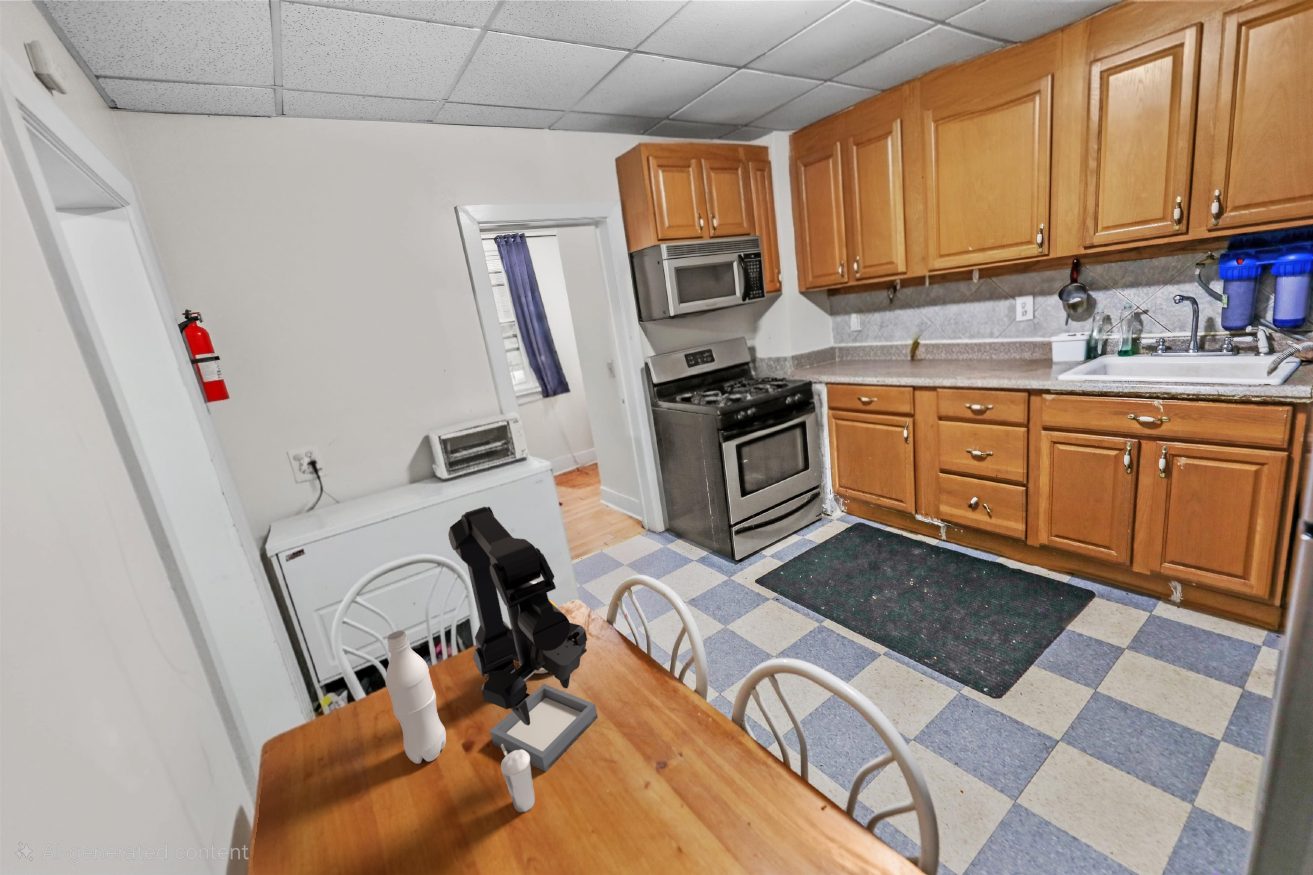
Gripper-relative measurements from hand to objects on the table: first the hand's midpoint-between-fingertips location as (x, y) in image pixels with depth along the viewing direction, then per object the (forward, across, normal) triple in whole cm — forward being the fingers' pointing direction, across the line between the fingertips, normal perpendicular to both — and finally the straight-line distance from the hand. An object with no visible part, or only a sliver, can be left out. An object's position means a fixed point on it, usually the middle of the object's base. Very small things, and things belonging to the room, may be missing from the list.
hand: (547, 705), depth 90 cm
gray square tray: (+13, +6, +9) cm, 17 cm away
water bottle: (+13, -8, +26) cm, 31 cm away
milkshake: (+13, -8, +2) cm, 15 cm away
